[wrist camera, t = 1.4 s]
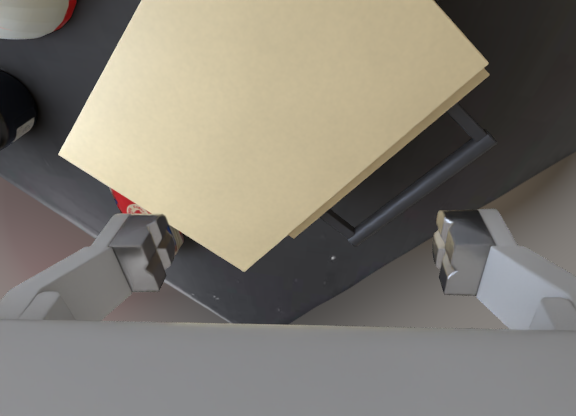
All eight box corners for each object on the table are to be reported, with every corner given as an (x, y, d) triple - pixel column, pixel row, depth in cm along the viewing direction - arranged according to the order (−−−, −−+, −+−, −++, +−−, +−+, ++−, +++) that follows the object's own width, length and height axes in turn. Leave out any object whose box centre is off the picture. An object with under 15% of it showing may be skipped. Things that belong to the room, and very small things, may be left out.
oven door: (436, 18, 40) (481, 65, 28) (478, 65, 43) (537, 128, 30) (297, 155, 51) (285, 233, 39) (337, 187, 54) (338, 270, 41)
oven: (288, -155, 36) (252, -206, 20) (436, 12, 43) (497, 72, 27) (145, 76, 50) (57, 154, 34) (274, 174, 57) (251, 276, 41)
